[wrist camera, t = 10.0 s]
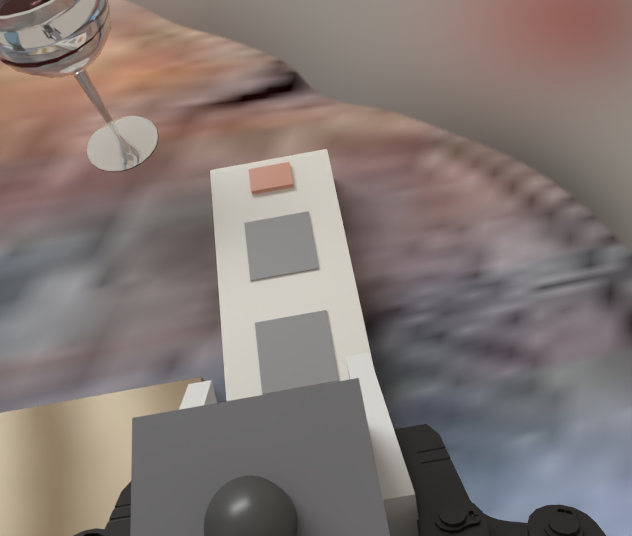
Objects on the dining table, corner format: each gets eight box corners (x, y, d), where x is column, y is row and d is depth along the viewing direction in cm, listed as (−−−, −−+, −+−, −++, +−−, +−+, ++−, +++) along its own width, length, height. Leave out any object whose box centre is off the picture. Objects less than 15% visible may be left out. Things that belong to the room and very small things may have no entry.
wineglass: (168, 174, 34) (78, 8, 24) (67, 188, 34) (-66, 30, 24) (172, 100, 37) (95, -75, 27) (80, 113, 38) (-33, -56, 27)
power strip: (258, 660, 21) (244, 675, 19) (220, 195, 33) (208, 166, 30) (425, 630, 21) (433, 642, 19) (329, 175, 33) (326, 145, 30)
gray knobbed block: (256, 620, 17) (104, 727, 7) (244, 478, 19) (113, 408, 9) (388, 597, 17) (419, 671, 7) (362, 457, 19) (358, 364, 9)
